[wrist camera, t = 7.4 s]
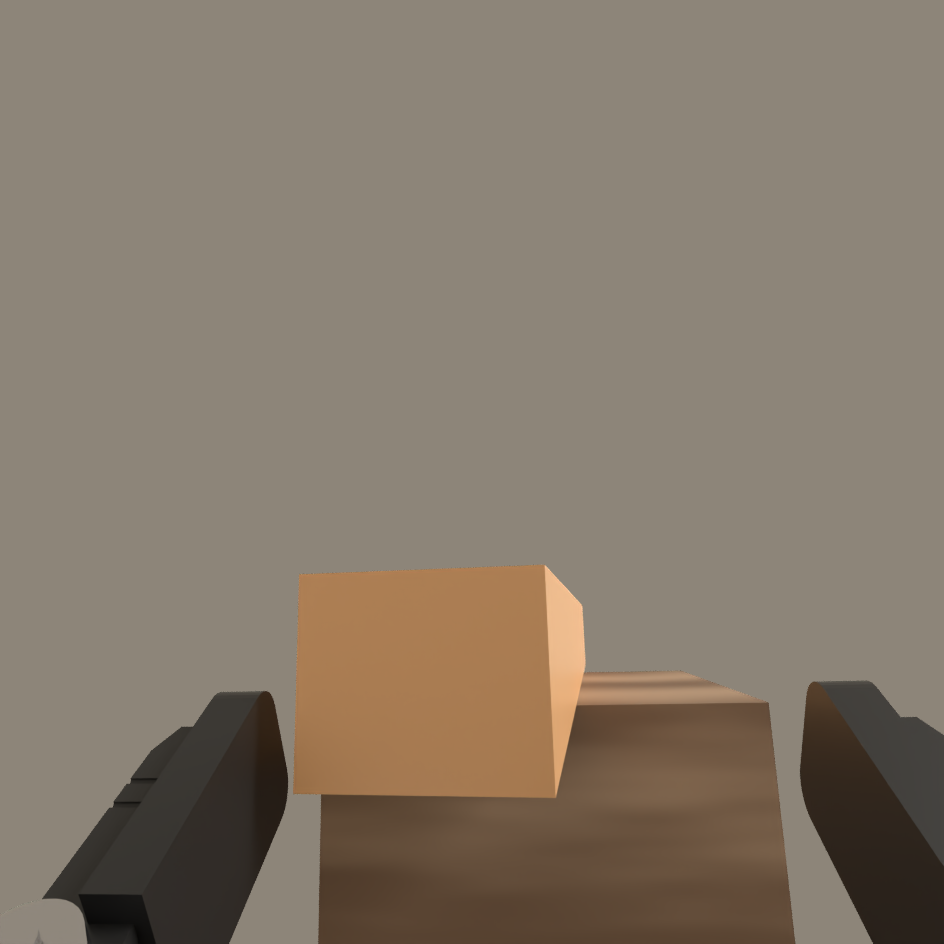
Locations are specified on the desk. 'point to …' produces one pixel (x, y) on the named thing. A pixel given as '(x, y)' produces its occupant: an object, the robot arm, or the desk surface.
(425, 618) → the light orange bar
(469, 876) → the pedestal
